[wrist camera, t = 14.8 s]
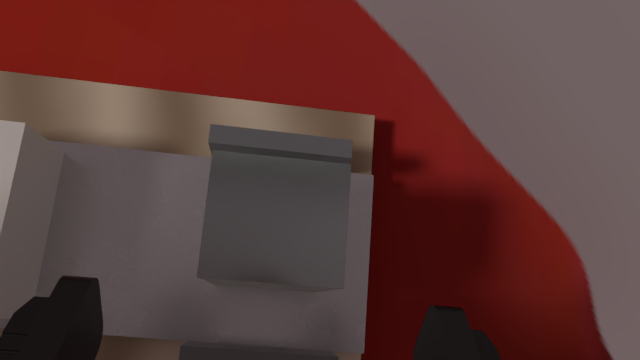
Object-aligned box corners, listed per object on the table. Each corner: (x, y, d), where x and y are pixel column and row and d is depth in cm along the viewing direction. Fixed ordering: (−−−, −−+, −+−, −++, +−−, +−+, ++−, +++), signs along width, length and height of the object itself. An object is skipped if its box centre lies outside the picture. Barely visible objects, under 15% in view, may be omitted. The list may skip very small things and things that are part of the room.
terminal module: (213, 284, 22) (196, 277, 16) (224, 193, 23) (212, 150, 17) (317, 292, 23) (343, 288, 16) (323, 203, 24) (351, 164, 17)
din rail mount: (-124, 396, 21) (-258, 430, 16) (-41, 75, 25) (-126, 9, 19) (351, 423, 24) (382, 462, 18) (369, 123, 27) (400, 76, 21)
